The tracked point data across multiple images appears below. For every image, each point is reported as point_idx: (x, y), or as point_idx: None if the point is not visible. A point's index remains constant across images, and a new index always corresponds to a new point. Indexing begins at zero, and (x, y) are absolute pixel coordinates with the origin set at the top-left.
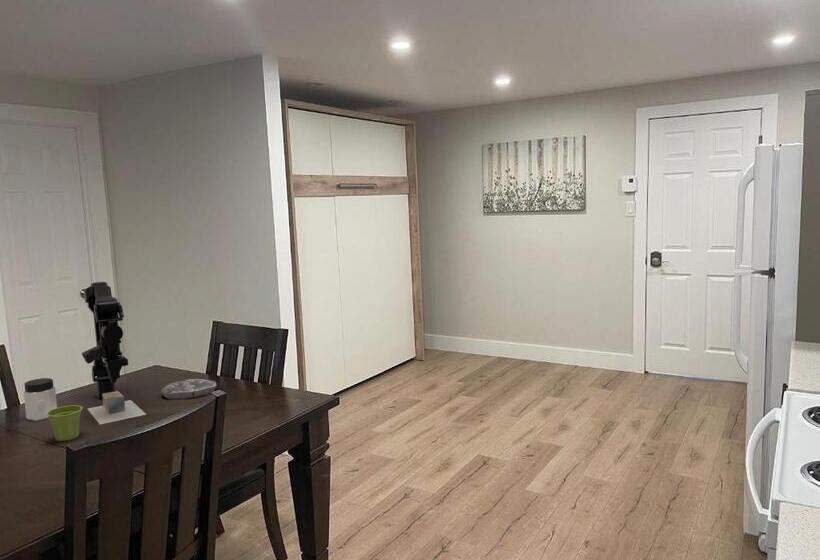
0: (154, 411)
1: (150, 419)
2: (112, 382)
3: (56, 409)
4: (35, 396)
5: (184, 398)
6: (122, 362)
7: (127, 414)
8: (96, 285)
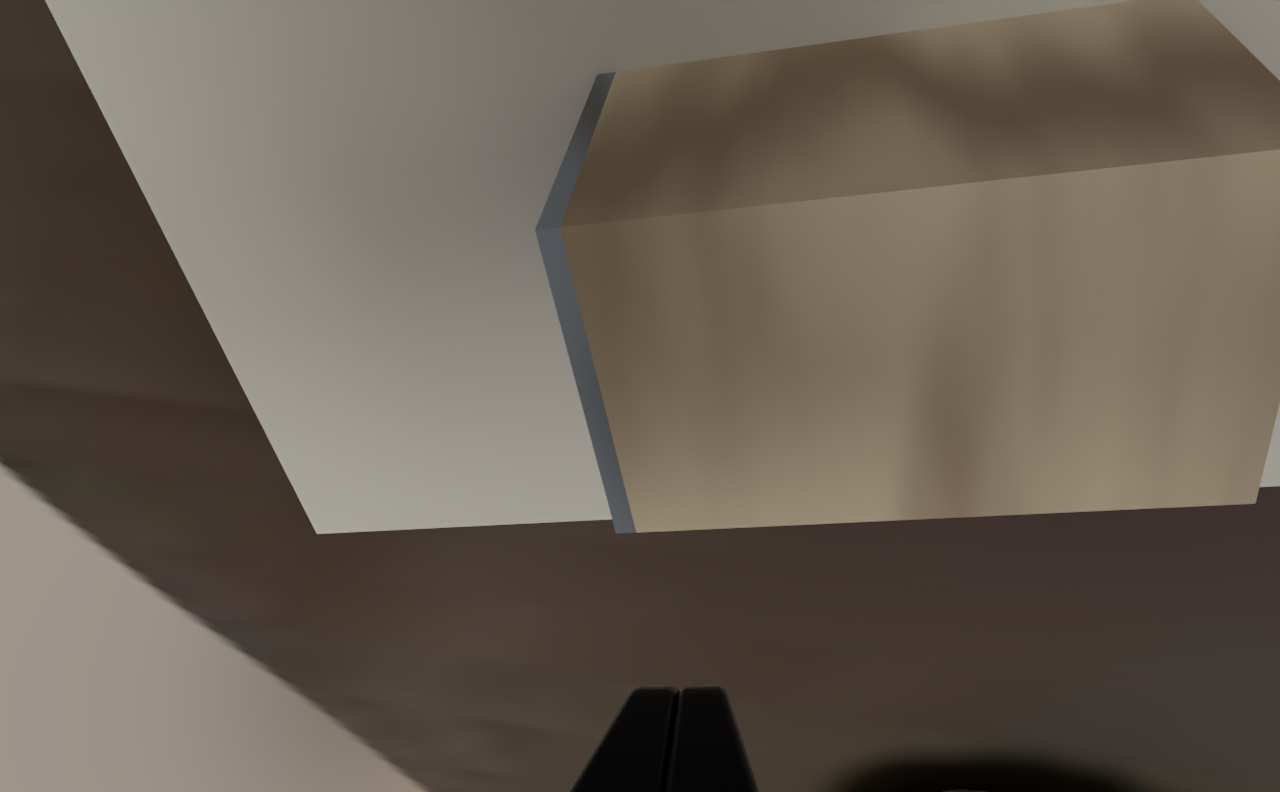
0: (469, 612)
1: (140, 529)
2: (617, 716)
3: None
4: None
5: None
6: None
7: (422, 343)
8: None
